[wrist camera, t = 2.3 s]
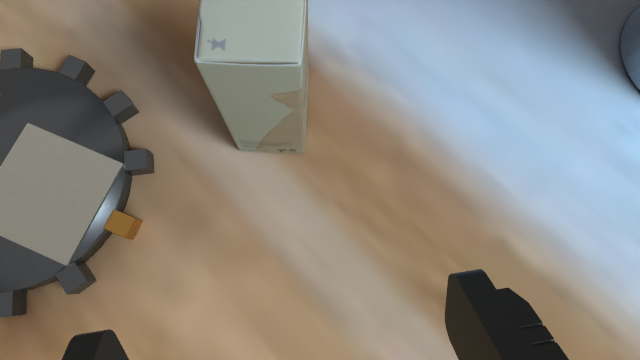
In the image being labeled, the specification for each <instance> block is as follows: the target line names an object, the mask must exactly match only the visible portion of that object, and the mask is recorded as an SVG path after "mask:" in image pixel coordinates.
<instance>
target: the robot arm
mask: <svg viewBox="0 0 640 360" xmlns="http://www.w3.org/2000/svg"><path fill="white" fill-rule="evenodd" d="M621 54H622V59H623V63H624V65H625V68H626V70H627V73H628V75H629V76H630V78H631V79H632V81H633V82H634V84H635V85H636V87H637V88H638V89H639V90H640V6H639V7H638V8H637V9H636V10H635V11H634V12H633V13H632V14H631V15H630V17H629V18H628V20H627V21H626V23H625V25H624V28H623V31H622V35H621ZM445 324H446V329H447V333H448V336H449V339H450V342H451V344H452V346H453V348H454V350H455V353H456V355H457V357H458V359H459V360H569V359H568V358H567V356H566V355H565V354H564V352H563V351H562V349H561V348H560V346H559V345H558V344H557V343H555V342H554V338H553V337H552V335H551V334H550V332H549V331H548V330H547V328H546V327H545V326H543V324H542V321H541V320H540V318H539V317H538V315H537V314H536V313H535V311H534V310H533V308H532V307H531V306H530V304H529V303H528V302H527V301H525V300H524V299H523V298H521V297H520V296H519V295H517V294H516V293H515V292H513V291H512V290H511V289H510V288H503V289H497V290H496V288H495V287H494V285H493V283H492V282H491V280H490V279H489V277H488V276H487V274H486V273H485V272H484V271H483V270H481V269H478V270H472V271H466V272H460V273H454V274H450V275H449V278H448V286H447V297H446V308H445ZM62 360H129V359H128V357H127V355H126V353H125V351H124V349H123V347H122V346H121V344H120V342H119V340H118V338H117V336H116V334H115V333H114V332H113V331H112V330H103V331H97V332H91V333H85V334H79V335H76V336H74V337H73V338H72V339H71V341H70V342H69V344H68V347H67V349H66V351H65V354H64V356H63V358H62Z"/></svg>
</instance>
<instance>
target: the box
mask: <svg viewBox="0 0 640 360" xmlns="http://www.w3.org/2000/svg"><path fill="white" fill-rule="evenodd" d="M194 62H195V64H196V66H197V68H198V70H199V72H200V74H201V76H202V78H203V80H204V82H205V84H206V86H207V88H208V90H209V92H210V94H211V96H212V98H213V100H214V102H215V104H216V106H217V108H218V110H219V112H220V114H221V116H222V118H223V120H224V122H225V124H226V126H227V128H228V129H229V131H230V134H231V135H232V137H233V139H234V141H235V143H236V145H237V147H238V149H239V150H241V151H252V152H270V153H304V151H305V139H306V123H307V103H308V0H200V5H199V14H198V23H197V33H196V42H195V53H194Z"/></svg>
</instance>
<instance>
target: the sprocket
mask: <svg viewBox="0 0 640 360" xmlns="http://www.w3.org/2000/svg"><path fill="white" fill-rule="evenodd" d="M94 72H95V71H94V70H93V69H92V68H91V67H90V66H89V65H88V64H87V63H86V62H85V61H82V60H80V59H77V58H75V57H73V56H70V55H69V56H68V57H67V59H66V60H65V62H64V64H63V65H62V67H61V68H60V70H59V72H58V73H56V72H54V71H49V70H44V69H38V68H33V57H31V56H30V55H29V54H28V53H26V52H25V51H24V50H23V49H21V48H19V49H9V50H2V51H1V70H0V318H1V317H9V316H17V315H24V314H26V297H27V290H31V289H34V288H37V287H41V286H44V285H47V284H49V283H51V282H54V281H56V280H59V282H60V283H61V285H62V287H63V288H64V290H65V292H66V293H67V294H79V293H80V292H81V291H83V290H84V289H86V288H87V287H89V286H90V285H91V284H93V283H94V282H96V279H95V277H94V276H93V274H92V273H91V271H90V269H89V268H88V266H87V265H86V263H85V262H86V261H87V260H88V259H89V258H90V257H91V256H92V255H93V254H94V253H96V252H97V251H98V250H99V249H100V248H101V246H102V245H103V244H104V243H105V241H106V240H107V239H108V237H109V236H110V235H111V233H112V232H113V233H115V234H117V235H120V236H122V237H124V238H128V239H132V240H133V239H134V237H135V235H136V233H137V231H138V229H139V227H140V225H141V223H142V221H141V220H139V219H136V218H134V217H132V216H130V215H127V214H125V213H123V211H124V209H125V206H126V203H127V200H128V197H129V193H130V187H131V182H132V175H140V174H149V173H154V160H153V154H152V153H151V152H150V151H148V150H147V149H139V150H130V146H129V142H128V138H127V136H126V134H125V131H124V129H123V127H122V125H121V123H123V122H125V121H126V120H128V119H129V118H131V117H132V116H134V115H135V114H137V113H139V111H138V110H137V108H136V107H135V105H134V104H133V103H132V101H131V100H130V98H129V97H128V96H127V95H126V94H125V93H124V92H123V91H122V90H121V91H119V92H117V93H116V94H114V95H113V96H111V97H109V98H108V99H106V100H105V101H102V100H101V99H100V98H99V97H98V96H97V95H95V94H94V93H93V92H92V91H91V90H90V89H88V88H87V87H86V85H87V84H88V82H89V80H90V79H91V77H92V75H93V74H94Z"/></svg>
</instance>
